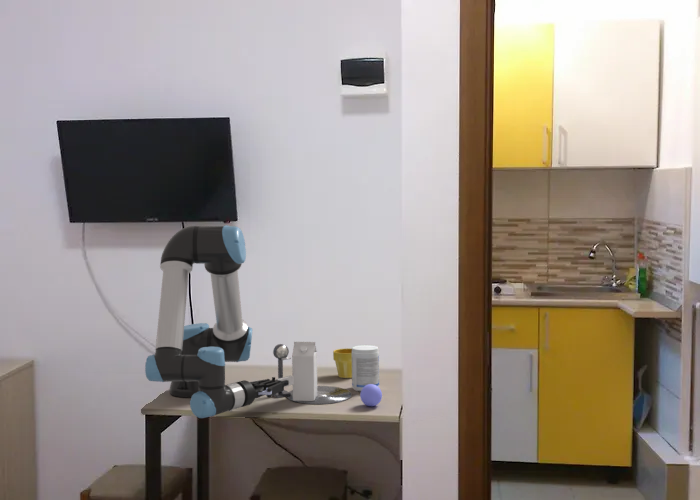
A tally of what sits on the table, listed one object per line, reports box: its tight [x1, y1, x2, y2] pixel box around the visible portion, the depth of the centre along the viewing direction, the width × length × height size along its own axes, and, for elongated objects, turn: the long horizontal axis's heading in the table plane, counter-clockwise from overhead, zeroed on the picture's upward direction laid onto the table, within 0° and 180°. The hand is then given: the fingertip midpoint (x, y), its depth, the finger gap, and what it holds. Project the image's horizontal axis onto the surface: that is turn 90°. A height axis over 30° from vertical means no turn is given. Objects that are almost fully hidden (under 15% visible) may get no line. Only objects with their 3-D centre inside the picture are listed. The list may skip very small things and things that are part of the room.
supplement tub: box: [351, 344, 380, 392], centre depth 253 cm, size 10×10×15 cm
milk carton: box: [291, 341, 318, 402], centre depth 239 cm, size 7×7×19 cm
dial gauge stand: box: [271, 343, 292, 399], centre depth 244 cm, size 5×6×18 cm
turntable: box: [286, 385, 353, 405], centre depth 245 cm, size 22×22×1 cm
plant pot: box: [332, 347, 352, 379], centre depth 271 cm, size 10×10×10 cm
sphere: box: [359, 384, 383, 407], centre depth 232 cm, size 7×7×7 cm
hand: (292, 379), depth 234 cm, fingers closed
